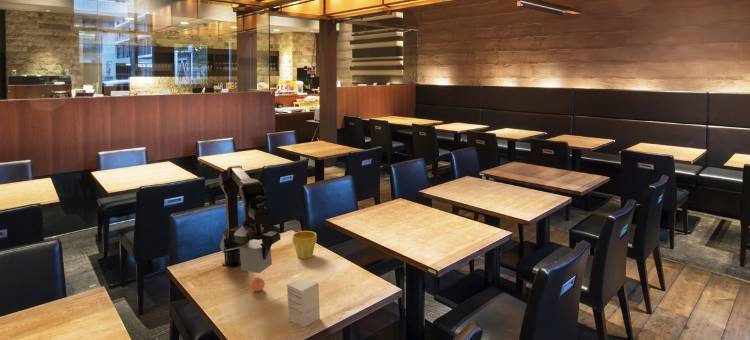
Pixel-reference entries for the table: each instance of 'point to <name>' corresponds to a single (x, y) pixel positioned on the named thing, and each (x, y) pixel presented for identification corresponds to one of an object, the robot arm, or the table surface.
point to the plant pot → (304, 243)
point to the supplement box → (303, 301)
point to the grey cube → (254, 257)
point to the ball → (257, 284)
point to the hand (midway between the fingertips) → (255, 257)
